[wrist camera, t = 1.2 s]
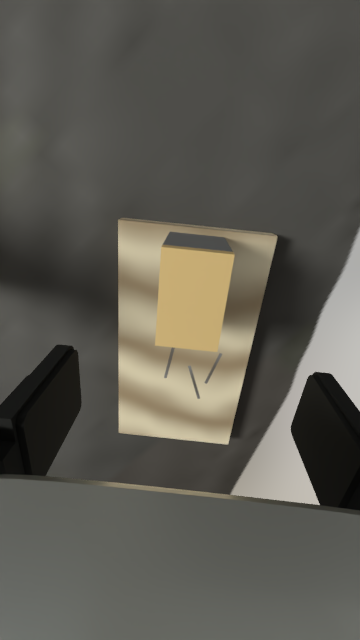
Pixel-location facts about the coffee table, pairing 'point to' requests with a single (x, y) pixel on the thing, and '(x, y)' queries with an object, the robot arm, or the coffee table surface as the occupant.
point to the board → (177, 363)
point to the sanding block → (192, 291)
